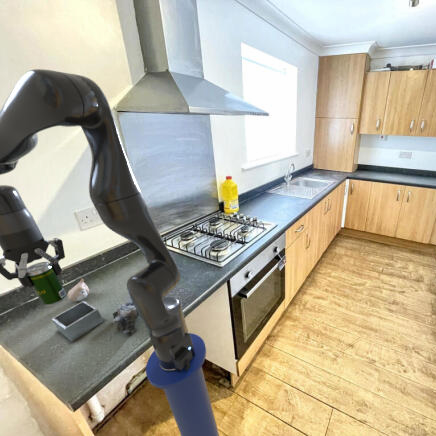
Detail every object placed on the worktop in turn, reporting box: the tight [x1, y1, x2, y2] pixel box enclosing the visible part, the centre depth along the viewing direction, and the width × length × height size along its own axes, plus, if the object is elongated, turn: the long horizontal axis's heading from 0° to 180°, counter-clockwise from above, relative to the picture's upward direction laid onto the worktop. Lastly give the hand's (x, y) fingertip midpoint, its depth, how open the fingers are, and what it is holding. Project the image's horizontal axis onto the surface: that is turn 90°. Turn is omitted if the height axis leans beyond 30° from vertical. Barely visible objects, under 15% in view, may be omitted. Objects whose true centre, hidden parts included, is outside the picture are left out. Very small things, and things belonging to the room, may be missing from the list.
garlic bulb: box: [67, 277, 90, 303], centre depth 92 cm, size 7×6×8 cm
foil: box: [111, 295, 138, 335], centre depth 83 cm, size 12×11×15 cm
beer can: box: [25, 261, 68, 307], centre depth 67 cm, size 5×5×12 cm
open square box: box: [51, 300, 104, 342], centre depth 80 cm, size 9×9×6 cm
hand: (44, 279), depth 66 cm, fingers closed on beer can, 5 cm apart
